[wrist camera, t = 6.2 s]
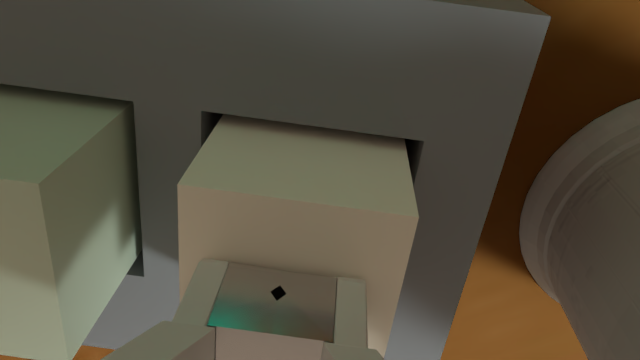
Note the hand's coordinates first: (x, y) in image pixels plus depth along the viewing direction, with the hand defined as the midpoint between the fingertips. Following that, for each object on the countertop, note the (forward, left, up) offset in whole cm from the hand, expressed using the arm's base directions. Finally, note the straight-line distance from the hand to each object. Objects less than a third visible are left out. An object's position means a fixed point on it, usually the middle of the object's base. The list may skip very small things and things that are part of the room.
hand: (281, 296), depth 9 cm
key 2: (0, 0, -6) cm, 6 cm away
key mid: (+6, 0, -6) cm, 8 cm away
